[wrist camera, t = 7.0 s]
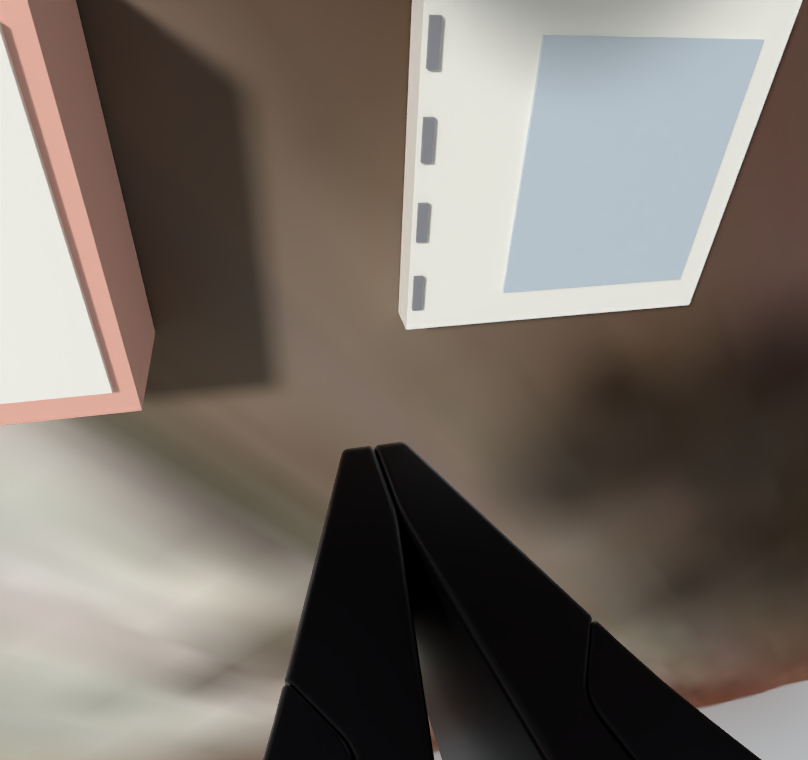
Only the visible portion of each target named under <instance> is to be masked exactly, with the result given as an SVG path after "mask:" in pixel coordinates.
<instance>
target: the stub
mask: <svg viewBox="0 0 808 760" xmlns="http://www.w3.org/2000/svg"><path fill="white" fill-rule="evenodd" d="M154 338H155V330H154V326H153V321H152V317H151V313H150V309H149V305H148V301H147V296H146V292H145V288H144V284H143V280H142V275H141V271H140V267H139V263H138V259H137V254H136V250H135V246H134V242H133V238H132V234H131V229H130V225H129V221H128V217H127V213H126V208H125V204H124V200H123V196H122V192H121V187H120V183H119V179H118V175H117V171H116V167H115V162H114V158H113V154H112V150H111V146H110V141H109V137H108V133H107V129H106V125H105V120H104V116H103V112H102V108H101V104H100V100H99V95H98V91H97V87H96V83H95V79H94V74H93V70H92V66H91V62H90V58H89V53H88V49H87V45H86V41H85V37H84V33H83V28H82V24H81V20H80V16H79V12H78V7H77V3H76V0H0V425H9V424H18V423H28V422H37V421H46V420H56V419H65V418H75V417H84V416H94V415H103V414H112V413H122V412H131V411H141V410H142V407H143V401H144V395H145V390H146V384H147V378H148V372H149V367H150V361H151V355H152V349H153V344H154Z"/></svg>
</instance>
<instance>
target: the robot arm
mask: <svg viewBox="0 0 808 760" xmlns="http://www.w3.org/2000/svg"><path fill="white" fill-rule="evenodd" d="M591 622H592V618H591V616H590V615H589V614H588V613H587V612H586V611H585V610H584V609H583V608H582V607H581V606H580V605H579V604H578V603H576V602H575V601H574V600H573V599H572V598H571V597H570V596H569V595H568V594H567V593H566V592H565V591H564V590H563V589H561V588H560V587H559V586H558V585H557V584H556V583H555V582H554V581H553V580H552V579H551V578H550V577H549V576H548V575H546V574H545V573H544V572H543V571H542V570H541V569H540V568H539V567H538V566H537V565H536V564H535V563H534V562H533V561H531V560H530V559H529V558H528V557H527V556H526V555H525V554H524V553H523V552H522V551H521V550H520V549H519V548H518V547H517V546H515V545H514V544H513V543H512V542H511V541H510V540H509V539H508V538H507V537H506V536H505V535H504V534H503V533H502V532H500V531H499V530H498V529H497V528H496V527H495V526H494V525H493V524H492V523H491V522H490V521H489V520H488V519H487V518H485V517H484V516H483V515H482V514H481V513H480V512H479V511H478V510H477V509H476V508H475V507H474V506H473V505H472V504H470V503H469V502H468V501H467V500H466V499H465V498H464V497H463V496H462V495H461V494H460V493H459V492H458V491H457V490H455V489H454V488H453V487H452V486H451V485H450V484H449V483H448V482H447V481H446V480H445V479H444V478H443V477H442V476H440V475H439V474H438V473H437V472H436V471H435V470H434V469H433V468H432V467H431V466H430V465H429V464H428V463H427V462H426V461H424V460H423V459H422V458H421V457H420V456H419V455H418V454H417V453H416V452H415V451H414V450H413V449H412V448H411V447H409V446H408V445H407V444H405V443H403V442H398V443H390V444H382V445H378V446H377V447H375V449H373V448H372V447H370V446H366V447H359V448H351V449H346V450H344V451H343V453H342V455H341V459H340V463H339V467H338V471H337V475H336V479H335V483H334V487H333V491H332V495H331V499H330V503H329V507H328V511H327V515H326V519H325V523H324V527H323V531H322V535H321V539H320V543H319V547H318V551H317V555H316V559H315V563H314V567H313V571H312V575H311V579H310V583H309V586H308V590H307V594H306V598H305V602H304V606H303V610H302V614H301V618H300V622H299V626H298V630H297V634H296V638H295V642H294V646H293V650H292V654H291V658H290V662H289V666H288V670H287V674H286V678H285V686H284V687H283V688H282V692H281V696H280V700H279V704H278V708H277V712H276V716H275V719H274V723H273V727H272V730H271V734H270V737H269V741H268V744H267V748H266V751H265V755H264V758H263V760H434V755H433V748H432V741H431V735H430V728H429V721H428V717H429V720H430V723H431V726H432V729H433V732H434V735H435V739H436V742H437V745H438V748H439V751H440V754H441V757H442V760H761V759H760V758H758V757H757V756H756V755H754V754H753V753H752V752H751V751H749V750H748V749H747V748H745V747H744V746H743V745H742V744H740V743H739V742H738V741H737V740H735V739H734V738H733V737H731V736H730V735H729V734H728V733H726V732H725V731H724V730H722V729H721V728H720V727H719V726H717V725H716V724H715V723H714V722H712V721H711V720H710V719H708V718H707V717H706V716H705V715H704V714H702V713H701V712H700V711H699V710H698V709H696V708H695V707H694V706H693V705H691V704H690V703H689V702H688V701H687V700H685V699H684V698H683V697H682V696H680V695H679V694H678V693H677V692H675V691H674V690H673V689H672V688H671V687H669V686H668V685H667V684H666V683H664V682H663V681H662V680H661V679H660V678H659V677H658V676H656V675H655V674H654V673H653V672H652V671H651V670H650V669H649V668H648V667H646V666H645V665H644V664H643V663H642V662H641V661H640V660H639V659H637V658H636V657H635V656H634V655H633V654H632V653H631V652H630V651H628V650H627V649H626V648H625V647H624V646H623V645H622V644H621V643H620V642H619V641H617V640H616V639H615V638H614V637H613V636H612V635H611V634H610V633H609V632H608V631H607V630H606V629H605V628H604V627H602V626H601V625H600V624H599V623H598V622H597V621H594V622H592V623H591ZM427 713H428V714H427Z"/></svg>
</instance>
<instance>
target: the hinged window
mask: <svg viewBox="0 0 808 760" xmlns="http://www.w3.org/2000/svg"><path fill="white" fill-rule="evenodd" d="M801 3H802V0H412V13H411V36H410V59H409V82H408V105H407V128H406V150H405V173H404V196H403V219H402V242H401V265H400V288H399V311H398V312H399V314H400V317H401V319H402V321H403V323H404V326H405V328H406V330H408V329H420V328H431V327H443V326H454V325H466V324H477V323H488V322H500V321H511V320H523V319H534V318H546V317H557V316H569V315H580V314H591V313H603V312H614V311H626V310H637V309H649V308H660V307H671V306H683V305H689V304H690V302H691V299H692V296H693V294H694V291H695V288H696V285H697V283H698V280H699V277H700V275H701V272H702V269H703V267H704V264H705V261H706V259H707V256H708V253H709V251H710V248H711V245H712V242H713V240H714V237H715V234H716V232H717V229H718V226H719V224H720V221H721V218H722V216H723V213H724V210H725V207H726V205H727V202H728V199H729V197H730V194H731V191H732V189H733V186H734V183H735V181H736V178H737V175H738V172H739V170H740V167H741V164H742V162H743V159H744V156H745V154H746V151H747V148H748V146H749V143H750V140H751V138H752V135H753V132H754V129H755V127H756V124H757V121H758V119H759V116H760V113H761V111H762V108H763V105H764V103H765V100H766V97H767V94H768V92H769V89H770V86H771V84H772V81H773V78H774V76H775V73H776V70H777V68H778V65H779V62H780V59H781V57H782V54H783V51H784V49H785V46H786V43H787V41H788V38H789V35H790V33H791V30H792V27H793V25H794V22H795V19H796V16H797V14H798V11H799V8H800V6H801Z"/></svg>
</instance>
